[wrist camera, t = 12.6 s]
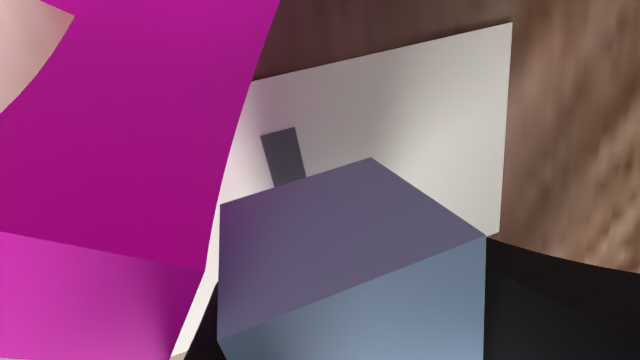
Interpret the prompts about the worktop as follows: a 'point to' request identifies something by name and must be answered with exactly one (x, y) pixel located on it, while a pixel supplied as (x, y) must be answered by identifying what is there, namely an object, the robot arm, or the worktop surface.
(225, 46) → the toy block
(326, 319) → the blue cube
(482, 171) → the letter board
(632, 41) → the worktop surface
